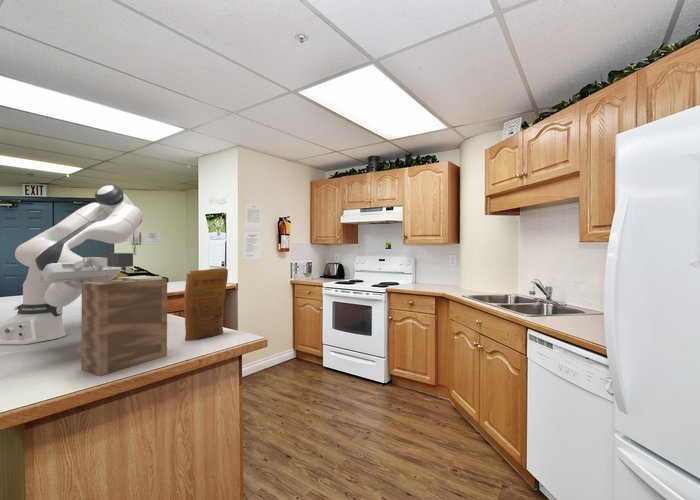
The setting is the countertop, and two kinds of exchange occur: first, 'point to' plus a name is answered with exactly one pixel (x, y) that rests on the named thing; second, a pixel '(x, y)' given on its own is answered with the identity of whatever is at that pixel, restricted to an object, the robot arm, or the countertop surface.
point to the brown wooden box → (123, 323)
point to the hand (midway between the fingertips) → (94, 259)
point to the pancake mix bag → (204, 303)
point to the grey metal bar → (113, 260)
